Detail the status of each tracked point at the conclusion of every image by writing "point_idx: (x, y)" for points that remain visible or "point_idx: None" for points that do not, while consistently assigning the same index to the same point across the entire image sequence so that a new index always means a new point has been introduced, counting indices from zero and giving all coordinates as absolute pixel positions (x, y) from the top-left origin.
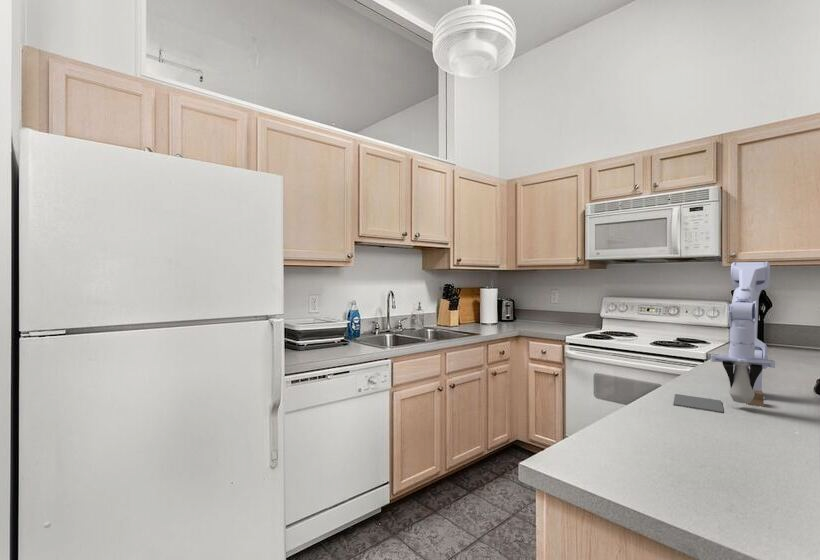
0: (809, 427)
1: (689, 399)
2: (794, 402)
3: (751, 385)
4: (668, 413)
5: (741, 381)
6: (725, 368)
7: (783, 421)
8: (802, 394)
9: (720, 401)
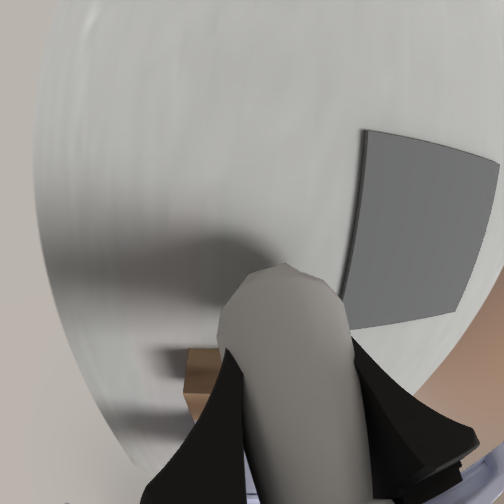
0: (41, 142)
1: (444, 267)
2: (130, 413)
3: (235, 367)
4: (501, 49)
5: (315, 369)
6: (460, 424)
7: (110, 160)
8: (137, 450)
9: None
